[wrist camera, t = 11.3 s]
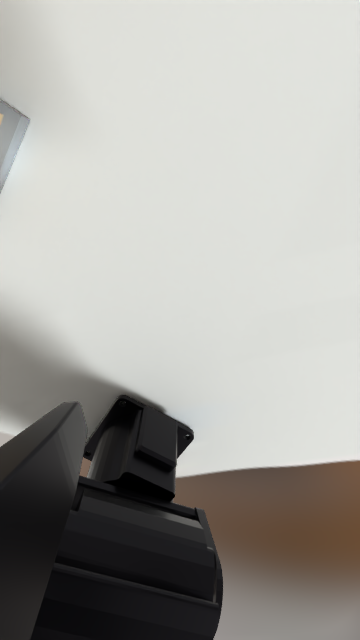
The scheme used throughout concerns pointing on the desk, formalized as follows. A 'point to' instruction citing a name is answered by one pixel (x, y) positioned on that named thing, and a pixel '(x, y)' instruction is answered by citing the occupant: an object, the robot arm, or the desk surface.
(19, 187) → the desk surface
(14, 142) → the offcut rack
